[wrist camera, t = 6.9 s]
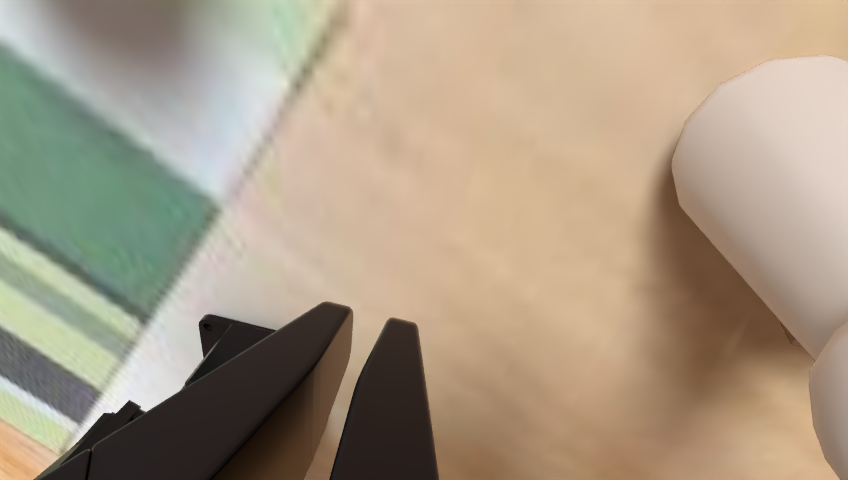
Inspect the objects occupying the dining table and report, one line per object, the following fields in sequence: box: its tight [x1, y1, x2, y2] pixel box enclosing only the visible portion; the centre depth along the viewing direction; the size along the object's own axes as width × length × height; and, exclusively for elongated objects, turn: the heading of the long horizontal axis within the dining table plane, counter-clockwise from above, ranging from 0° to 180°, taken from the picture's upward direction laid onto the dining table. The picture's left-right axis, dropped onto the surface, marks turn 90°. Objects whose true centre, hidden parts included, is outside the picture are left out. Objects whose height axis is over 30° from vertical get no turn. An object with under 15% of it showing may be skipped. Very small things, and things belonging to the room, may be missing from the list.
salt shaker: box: [672, 55, 848, 480], centre depth 12 cm, size 6×6×13 cm
